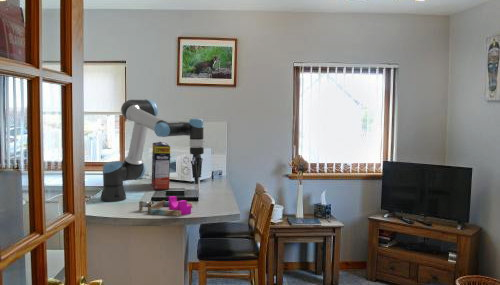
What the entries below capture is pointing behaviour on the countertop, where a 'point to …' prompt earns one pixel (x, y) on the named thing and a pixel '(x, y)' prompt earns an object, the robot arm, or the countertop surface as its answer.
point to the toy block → (179, 205)
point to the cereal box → (160, 166)
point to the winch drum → (145, 205)
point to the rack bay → (156, 210)
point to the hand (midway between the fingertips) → (197, 189)
